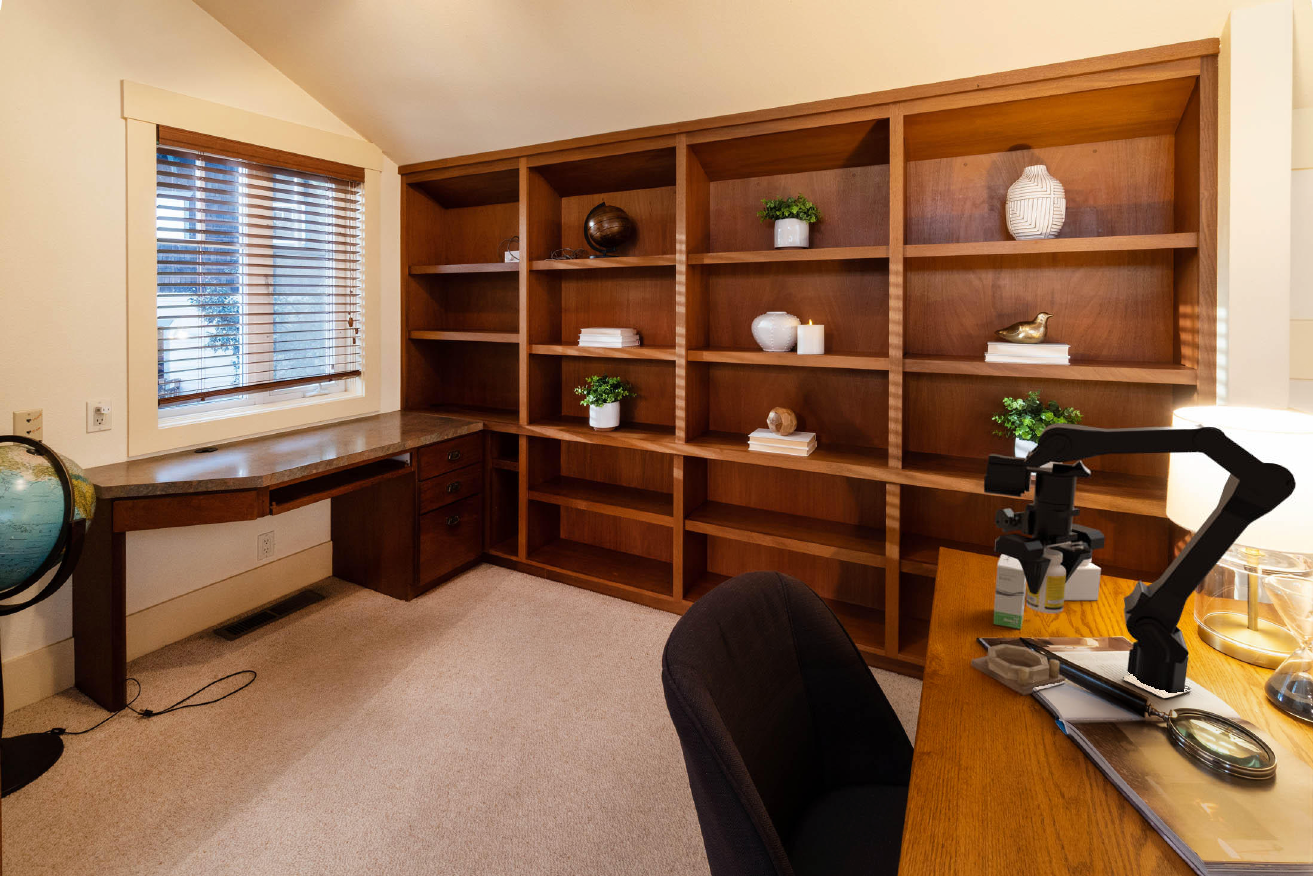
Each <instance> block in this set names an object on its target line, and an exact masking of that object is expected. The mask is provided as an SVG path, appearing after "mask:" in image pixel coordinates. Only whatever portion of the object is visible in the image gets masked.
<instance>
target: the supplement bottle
mask: <svg viewBox="0 0 1313 876" xmlns="http://www.w3.org/2000/svg"><path fill="white" fill-rule="evenodd" d="M1044 557H1045V558H1048V559H1051V562H1050V564H1049V567H1048V569H1047V572H1046V574H1045V577H1044V580H1043V582H1042V585H1041V587H1040V589H1039V591H1038V593H1037V594H1032V593H1030V591H1029V588H1028V584H1026V598H1025V599H1026V600H1025V601H1026V606H1027V607H1028V608H1030V610H1033V611H1036V612H1040V613H1044V614H1058V613H1061V612H1063V610H1064V604H1065V603H1064V601H1065V600H1064V593H1065V580H1066V569H1065V568H1064V567H1063V566H1062V565H1060V563H1062V557H1063V554H1062V553H1061V552H1059V551H1056V550H1052V549H1050V548H1046V549H1045V552H1044Z"/></svg>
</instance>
